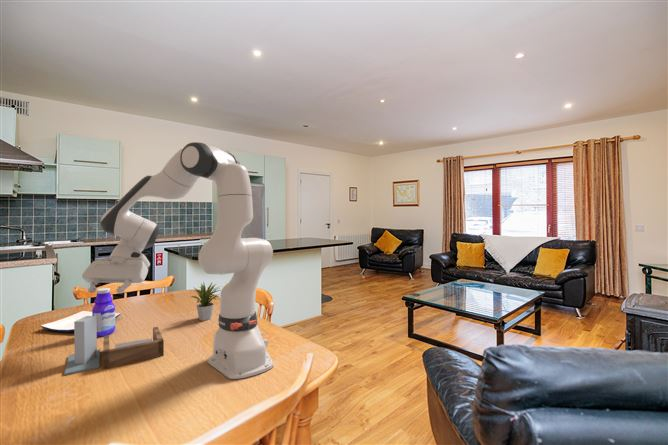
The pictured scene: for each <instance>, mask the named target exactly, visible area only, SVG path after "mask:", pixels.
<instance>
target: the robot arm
mask: <svg viewBox="0 0 668 445" xmlns="http://www.w3.org/2000/svg"><path fill="white" fill-rule="evenodd" d="M200 178H204V179H206V180H211V181H214V182H215V185H216V196H217V197H216V198H217V219H216V220H217V221H216V227H215V229H214V231H213V233H212V235H211V236H210V238H209V240H207V241H206V242H205V243H204V244H203V245H202V247H201V248H200V250H199V252H198V264H199V266H200V268H201V269H202V270H203V272H205V273H206V274H208V275H209V274H210V275H219V276H221V275H229V274H233V275H232V277H231V279H230V280H229V282H228V283H226V284H225V285H223V286H222V288H221V289H220V290H221V291H220V293H219V295H220V296H219V298H220V300H219V301H220V304H219V309H220V310H219V312H220V313H219V315H218V319H217V320H218V329H217V331H216V332H215V333H214V335H213V342H212V343H213V344H212V355H211V356H210V357H208V358H207V363H208V364H209V365H210V366H211V367H213V368H214V369H216V370H217V371H218V372H220V373H221V374H222V375H224V376H225V377H226V378H228V379H230V380H237V379H238V380H239V379H244V378H249V377H252V376H256V375H259V374H263V373H265V372H267V371H269V370H270V369H272V368H273V367H274V361H273V360H272V357H271V356H270V354H269V352H268V350H267V349H266V347H268V346H269V341H268V340H269V339H267V338H264V337H263V334H264V333H263V331H260V330H261V329H260V327H259V325H258V316H257V312H256V295H257V293H256V292H257V287H258V284H259V280H260V277H262V276H261V275H262V274H263V272H264V270H265V269H266V267H267V266H268V265H269V264H271V262H272V260H273V256H274V249H273V247H272V244H271V243H270V241H268V240H266V238H265V239H263V238H259V237H242V233H243V230H244V228H245V227H247V226H248V225H250V224H251V222H252V221H253V219H254V209H253V207H254V206H253V193H252V191H253V190H252V184H251V180H250V174H249V171H248V169H247V168H246V166H244V165H242V164H241V163H240V161H239V159H238V158H237V157H236V156H235V155H234V154H232V153H229V152H226V151H225V150H223V149H220V148H218V147H217V146H214V145H209V144H206V143H203V142H198V141H197V142H196V141H195V142H194V141H193V142H189V143H187V144H186V145H184V146H183V148H180V149H179V150H178V151H177V152H176V153H175V154H173V156H172V157H171V158H170V159H169V160H168V161H167V163H166V164H165V166H164V167H163V168H162V169H161V171H160V172H158V173H156V174H154V175H146V176H144V177H143V178H141V179H140V180H138V182H137V183H136V184H135V185H134V186H132V188H130V189H129V191H128V192H126V193H125V194H124V196H122V198H121V199H120V200H118V202H116V204H114V205H113V206H112V207H110V208H109V209H108V210H107V211H106V212H104V213H103V214H102V216H101V218H100V222H99V224H100V227H101V229H102V230H103V232H104V233H107V234H110V235H113V236H116V237H119V242H118V244H117V245H115V247H114V249H112V252H111V253H110V255H109V257H108V258H98V259H96V260H93V261H92V262H91V263H90V264H89V265H88V266H87V268H86V269H85V270H84V271H83V273H82V274H81V278H82V279H83V280H84V281H85V282H86V283H89V287H88V289H87V292H88V293H89V294H91V293H92V294H95V293H97V290H98V288H97V287H96V286H97V285H98V284H99V283H106V284H109V283H110V284H114V283H115V284H120V283H121V285H120V286H119V285H118V287H117V289H116V290H115V291H116V292H117V293H118V294H123V293H124V292H125V290H126V289H128V288H129V287H130V286H132V284H141V283H143V282H144V281H145V279H146V278H147V275H148V273H149V268H150V266H151V262H150V260H148V258H147V256H146V255H145V254H144V253H142V252H143V251H144V250H147V249H149V248H152V247H153V246H154V245H155V242H156V241H157V237H158V236H159V235H160V233H161V231H160V230H161V229H160V227H159V225H158V224H157V223H155V222H154V221H152V220H149V219H147V218H146V217H142V216H140V215H138V214H137V213H134V212H132V211H130V209H131V208H132V207H133V206H134V205H135V204H136V203H137V202H138V201H139V200H140V199H141V198H145V197H151V198H152V197H153V198H160V199H163V200H164V199H165V200H178V199H181V198H184V197H185V196H187V194H189V192H190V191H191V189H192V188H193V187H194V186H195V184H196V182H197V181H198V179H200ZM263 338H264V339H263Z"/></svg>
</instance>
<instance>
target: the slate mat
mask: <svg viewBox="0 0 668 445" xmlns="http://www.w3.org/2000/svg"><path fill="white" fill-rule="evenodd" d="M100 358H101V349H98V348H97V356H96V357H95V358H93V359H91V360H90V361H88V362H87V363H85V364H75V353H73V354H69V355H68V358H67V363H66V366H65V369H64V376H68V375H73V374H77V373H78V374H79V373H84V372H87V371H92V370H96V369H100V362H101V360H100Z"/></svg>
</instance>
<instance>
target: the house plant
mask: <svg viewBox="0 0 668 445" xmlns="http://www.w3.org/2000/svg"><path fill="white" fill-rule="evenodd" d="M216 285H217V283H215V284H213V282H211V283H210V284H209V286H207V289H206V286H205V282H204V281H203V282H202V283H200V286H199V288H200V289H197V288H196V287H194V286H193V289H194V292H195V293H196V294H197V295H198V296H196V295H191V296H190V298H194V299H196V301H197V302H196V309H197V316H198V320H199V321H202V322H203V321H208V320H211V319H212V316H213V310H214V305H215V304H214V302H212V300H215V301H217V299H216V298H220V296H219V295H220V293H218V294H215V293H217V292H221V290H222V289H221V287H222V288H223V285H221V286H218V287H215V286H216Z"/></svg>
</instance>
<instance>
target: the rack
mask: <svg viewBox="0 0 668 445" xmlns="http://www.w3.org/2000/svg"><path fill="white" fill-rule="evenodd" d="M164 342H165V340H164V338H163V336H162V333H161V331H160V329H159V326H153V327H152V341H150V342H145V343H140V344H135V345H130V346H125V347H120V348H115V347H114V348H115V349H114V348H111V349H110V334H108V335H105V336H103V355H102V357H103V358H102V360H103V362H102V363H103V364H102V365H103V366H102V367H103V370H105V369H110V368H114V367H119V366H123V365H127V364H132V363H135V362H136V363H137V362H140V361H141V362H142V361H145V360H149V359H154V358H159V357H163V356H164V354H165V353H164V348H165V347H164V346H165V345H164Z"/></svg>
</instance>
